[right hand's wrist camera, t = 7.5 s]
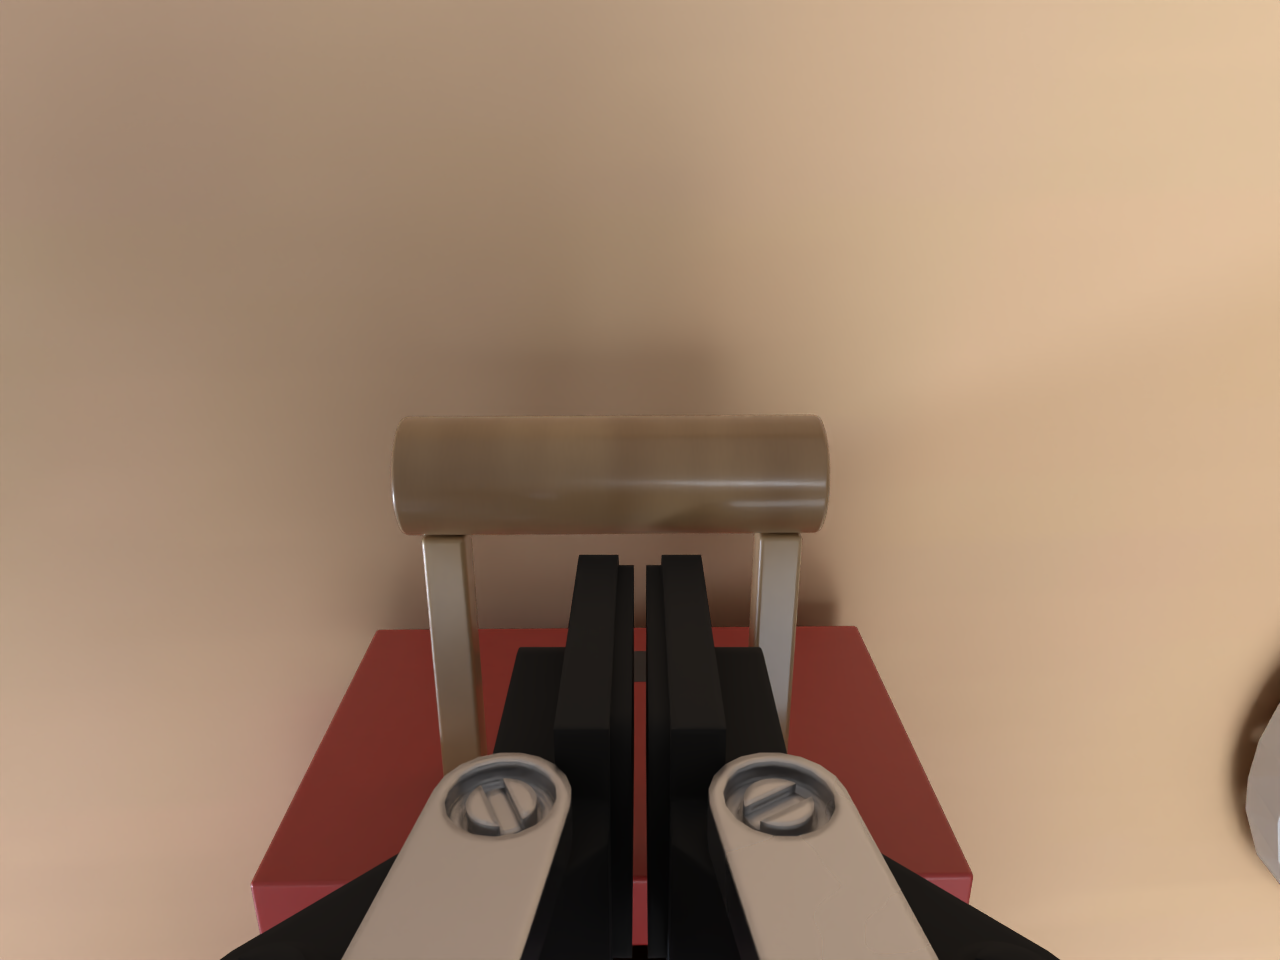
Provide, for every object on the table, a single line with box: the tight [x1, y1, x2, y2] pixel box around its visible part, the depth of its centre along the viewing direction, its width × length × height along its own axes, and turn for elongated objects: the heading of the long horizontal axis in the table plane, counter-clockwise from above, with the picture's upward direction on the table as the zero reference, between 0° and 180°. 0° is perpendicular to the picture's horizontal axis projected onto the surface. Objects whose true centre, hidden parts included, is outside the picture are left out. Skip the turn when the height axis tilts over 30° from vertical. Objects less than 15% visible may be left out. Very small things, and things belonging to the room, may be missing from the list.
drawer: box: [251, 415, 973, 960], centre depth 16 cm, size 18×10×7 cm, turn 0°
